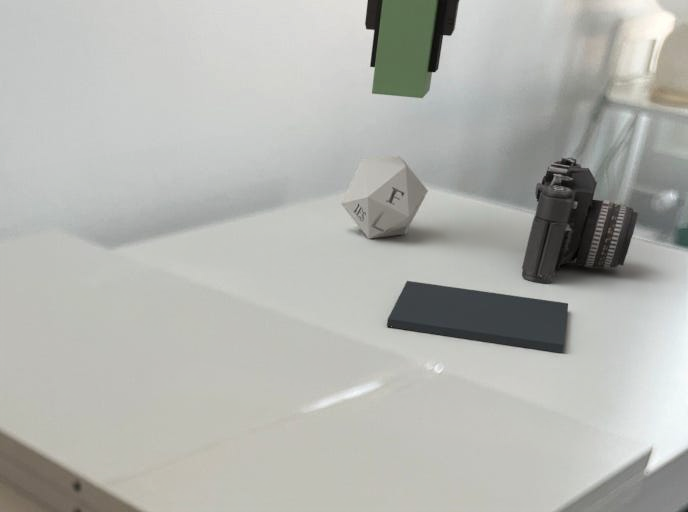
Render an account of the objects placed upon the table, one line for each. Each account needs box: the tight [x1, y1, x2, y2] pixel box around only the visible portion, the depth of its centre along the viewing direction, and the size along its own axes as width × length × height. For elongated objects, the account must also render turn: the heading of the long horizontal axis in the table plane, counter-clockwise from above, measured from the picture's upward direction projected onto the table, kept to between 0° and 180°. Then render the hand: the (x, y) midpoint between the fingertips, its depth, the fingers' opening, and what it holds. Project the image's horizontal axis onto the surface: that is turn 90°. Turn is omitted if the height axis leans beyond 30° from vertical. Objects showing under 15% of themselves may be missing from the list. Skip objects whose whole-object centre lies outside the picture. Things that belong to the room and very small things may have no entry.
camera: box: [521, 157, 639, 284], centre depth 111 cm, size 14×11×10 cm
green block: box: [371, 0, 438, 99], centre depth 109 cm, size 6×6×10 cm
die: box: [340, 155, 429, 240], centre depth 119 cm, size 8×9×10 cm
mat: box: [386, 280, 569, 354], centre depth 99 cm, size 16×12×1 cm
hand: (404, 67), depth 111 cm, fingers closed on green block, 5 cm apart
